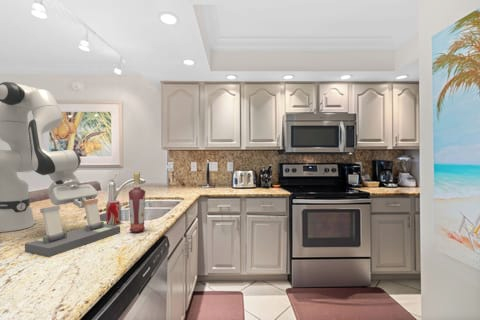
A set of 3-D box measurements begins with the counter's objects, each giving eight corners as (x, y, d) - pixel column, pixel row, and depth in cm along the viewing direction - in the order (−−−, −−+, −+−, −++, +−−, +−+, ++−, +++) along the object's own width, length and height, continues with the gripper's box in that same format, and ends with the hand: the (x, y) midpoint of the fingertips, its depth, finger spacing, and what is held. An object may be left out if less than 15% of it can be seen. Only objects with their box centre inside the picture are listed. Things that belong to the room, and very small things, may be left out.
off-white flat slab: (87, 230, 111) (81, 202, 113) (99, 227, 117) (94, 199, 118) (91, 229, 111) (85, 200, 112) (103, 226, 116) (97, 198, 117)
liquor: (144, 233, 117) (144, 172, 117) (127, 234, 116) (127, 173, 116) (146, 228, 125) (146, 172, 124) (130, 229, 123) (130, 172, 123)
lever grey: (45, 242, 96) (39, 209, 97) (61, 237, 101) (56, 206, 102) (49, 241, 95) (43, 208, 96) (65, 236, 100) (59, 205, 101)
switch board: (24, 251, 95) (24, 237, 95) (98, 229, 123) (98, 218, 123) (49, 256, 89) (48, 241, 89) (120, 232, 118) (120, 221, 118)
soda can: (114, 226, 130) (114, 202, 130) (103, 225, 131) (102, 202, 131) (123, 222, 137) (123, 200, 137) (112, 222, 138) (112, 200, 138)
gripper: (86, 187, 131) (100, 207, 127) (42, 192, 112) (57, 216, 108) (92, 178, 129) (106, 198, 125) (48, 182, 110) (64, 206, 106)
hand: (83, 207), depth 117 cm, fingers closed
